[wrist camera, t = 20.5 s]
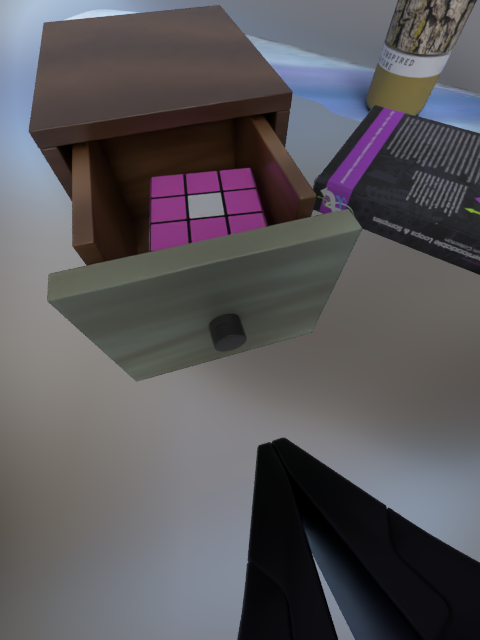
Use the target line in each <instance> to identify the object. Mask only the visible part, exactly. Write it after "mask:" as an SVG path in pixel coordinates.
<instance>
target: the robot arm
mask: <svg viewBox="0 0 480 640" xmlns="http://www.w3.org/2000/svg"><path fill="white" fill-rule="evenodd" d="M312 554H313V555H312ZM313 556H314V558H315V560H316V562H317V564H318V566H319V568H320V570H321V572H322V574H323V576H324V578H325V580H326V582H327V584H328V586H329V588H330V590H331V592H332V594H333V596H334V598H335V600H336V602H337V604H338V606H339V608H340V610H341V612H342V614H343V616H344V618H345V620H346V622H347V624H348V626H349V628H350V630H351V632H352V634H353V636H354V638H355V640H480V563H479V562H478V561H476V560H474V559H472V558H470V557H469V556H467V555H465V554H463V553H461V552H460V551H458V550H456V549H454V548H453V547H451V546H449V545H447V544H446V543H444V542H442V541H441V540H439V539H437V538H436V537H434V536H432V535H430V534H429V533H427V532H426V531H424V530H423V529H421V528H419V527H418V526H416V525H414V524H413V523H412V522H410V521H408V520H407V519H405V518H404V517H402V516H401V515H399V514H398V513H396V512H395V511H393V510H392V509H390V508H388V509H387V507H386V505H384V504H383V503H381V502H380V501H378V500H377V499H375V498H374V497H372V496H371V495H369V494H368V493H366V492H365V491H363V490H362V489H360V488H359V487H357V486H356V485H354V484H353V483H351V482H350V481H349V480H347V479H346V478H344V477H342V476H341V475H340V474H338V473H337V472H335V471H334V470H332V469H331V468H329V467H328V466H326V465H325V464H323V463H322V462H320V461H319V460H317V459H316V458H314V457H313V456H311V455H310V454H308V453H307V452H305V451H304V450H302V449H301V448H300V447H298V446H297V445H295V444H294V443H292V442H290V441H289V440H288V439H286V438H280V439H277V440H274V441H272V443H270V442H268V443H265V444H262V445H259V446H258V450H257V461H256V471H255V482H254V494H253V505H252V516H251V528H250V539H249V550H248V563H247V571H246V582H245V591H244V599H243V608H242V615H241V621H240V627H239V633H238V638H237V640H338V637H337V634H336V631H335V627H334V624H333V621H332V617H331V614H330V611H329V608H328V604H327V601H326V598H325V595H324V592H323V588H322V585H321V582H320V578H319V575H318V572H317V569H316V565H315V562H314V559H313Z"/></svg>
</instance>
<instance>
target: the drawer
mask: <svg viewBox="0 0 480 640" xmlns="http://www.w3.org/2000/svg"><path fill="white" fill-rule="evenodd" d="M244 168H251V170H252V172H253V176H254V180H255V183H256V187H257V191H258V194H259V197H260V201H261V205H262V208H263V212H264V215H265V219H266V223H267V227H262V228H258V229H253V230H248V231H244V232H239V233H235V234H230V235H225V236H221V237H216V238H212V239H207V240H202V241H198V242H193V243H189V244H184V245H180V246H175V247H170V248H166V249H161V250H157V251H152V252H149V229H150V180H151V177H159V176H170V175H180V174H184V175H185V174H191V173H201V172H212V171H218V172H219V171H222V170H233V169H244ZM315 200H316V194H315V192H314V191H313V189H312V188H311V187H310V185H309V183H308V182H307V180H306V179H305V177H304V176H303V174H302V173H301V171H300V170H299V168H298V167H297V165H296V164H295V162H294V161H293V159H292V158H291V156H290V155H289V153H288V152H287V150H286V149H285V147H284V146H283V144H282V143H281V141H280V140H279V138H278V137H277V135H276V134H275V132H274V131H273V129H272V128H271V126H270V125H269V123H268V122H267V120H266V119H265V117H264V116H263V114H257V115H251V116H244V117H238V118H232V119H225V120H219V121H213V122H206V123H200V124H194V125H188V126H181V127H175V128H169V129H162V130H156V131H150V132H143V133H137V134H131V135H125V136H118V137H112V138H106V139H99V140H93V141H87V142H80V143H74V144H72V235H73V236H72V237H73V238H72V239H73V240H72V246H73V247H74V249H75V250H76V252H77V253H78V254H79V256H80V257H81V258H82V260H83V261H84V262H85V264H86V265H87V266H83V267H78V268H74V269H69V270H65V271H60V272H56V273H51V274H49V276H48V295H47V300H48V302H49V303H50V304H51V305H52V306H53V307H54V308H56V309H57V310H58V311H59V312H60V313H61V314H62V315H63V316H64V317H65V318H67V319H68V320H69V321H70V322H71V323H72V324H73V325H74V326H75V327H77V328H78V329H79V330H80V331H81V332H83V334H84V335H85V336H87V337H88V338H89V339H90V340H91V341H92V342H93V343H94V344H95V345H97V346H98V347H99V348H100V349H101V350H102V351H103V352H104V353H105V354H107V355H108V356H109V357H110V358H111V359H112V360H113V361H114V362H115V363H116V364H118V365H119V366H120V367H121V368H122V369H123V370H124V371H125V372H126V373H128V374H129V375H130V376H131V377H132V378H133V379H134V380H135V381H140V380H144V379H147V378H151V377H155V376H158V375H162V374H165V373H168V372H172V371H176V370H180V369H183V368H187V367H190V366H194V365H197V364H201V363H205V362H208V361H212V360H215V359H219V358H222V357H226V356H230V355H233V354H237V353H240V352H244V351H248V350H251V349H255V348H258V347H262V346H266V345H269V344H273V343H276V342H280V341H283V340H287V339H290V338H294V337H298V336H301V335H304V334H308V333H312V331H313V329H314V327H315V325H316V322H317V320H318V319H319V316H320V315H321V313H322V310H323V308H324V306H325V304H326V302H327V300H328V298H329V296H330V294H331V292H332V290H333V288H334V286H335V284H336V282H337V280H338V278H339V276H340V273H341V272H342V269H343V267H344V265H345V263H346V261H347V259H348V257H349V255H350V253H351V251H352V249H353V247H354V245H355V243H356V241H357V239H358V237H359V235H360V232H361V231H362V227H361V226H360V224H359V223H358V221H357V220H356V219H355V217H354V216H353V215H352V213H351V212H350V210H349V209H345V210H340V211H336V212H331V213H326V214H322V215H317V216H313V217H311V214H312V211H313V207H314V204H315Z"/></svg>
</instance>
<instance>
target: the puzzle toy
mask: <svg viewBox="0 0 480 640" xmlns="http://www.w3.org/2000/svg"><path fill="white" fill-rule="evenodd" d="M262 227H267V223H266V219H265V215H264V212H263V208H262V205H261V201H260V197H259V194H258V191H257V187H256V183H255V180H254V176H253V172H252V170H251V168H244V169H233V170H222V171H219V172H218V171H212V172H201V173H191V174H185V175H184V174H180V175H170V176H159V177H151V180H150V229H149V252H152V251H157V250H161V249H166V248H170V247H175V246H180V245H184V244H189V243H193V242H198V241H202V240H207V239H212V238H216V237H221V236H225V235H230V234H235V233H239V232H244V231H248V230H253V229H258V228H262Z"/></svg>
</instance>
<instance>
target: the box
mask: <svg viewBox="0 0 480 640" xmlns="http://www.w3.org/2000/svg"><path fill="white" fill-rule="evenodd" d="M313 191H314V192H315V194H316V200H315V204H314V207H313V210H317V211H319V212H321V213H323V214H326V213H331V212H336V211H340V210H345V209H349V210H350V212H351V213H352V215H353V216H354V217H355V219H356V220H357V221H358V223H359V224H360V226H361V227H362V229H365V230H368V231H370V232H373V233H375V234H378V235H380V236H383V237H386V238H388V239H391V240H393V241H396V242H398V243H400V244H403V245H406V246H408V247H411V248H413V249H416V250H418V251H421V252H423V253H426V254H429V255H431V256H433V257H436V258H439V259H441V260H444V261H446V262H448V263H451V264H454V265H456V266H459V267H461V268H464V269H467V270H469V271H472V272H474V273H477V274H479V275H480V133H476V132H472V131H469V130H465V129H461V128H458V127H454V126H451V125H447V124H444V123H440V122H437V121H433V120H428V119H425V118H421V117H417V116H414V115H410V114H407V113H403V112H399V111H395V110H392V109H388V108H384V107H381V106H377V105H375V106H373V107H372V108H371V110H370V112H369V113H368V115H367V116H366V117H365V118H364V120H363V121H362V122H361V124H360V125H359V126H358V127H357V129H356V130H355V131H354V133H353V134H352V135H351V136H350V138H349V139H348V140H347V141H346V143H345V144H344V145H343V146H342V148H341V149H340V150H339V152H338V153H337V154H336V155H335V157H334V158H333V159H332V161H331V162H330V163H329V164H328V166H327V167H326V168H325V169H324V171H323V172H322V173H321V174H320V175H319V176H318V177H317V178H316V179H315V181H314V185H313Z"/></svg>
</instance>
